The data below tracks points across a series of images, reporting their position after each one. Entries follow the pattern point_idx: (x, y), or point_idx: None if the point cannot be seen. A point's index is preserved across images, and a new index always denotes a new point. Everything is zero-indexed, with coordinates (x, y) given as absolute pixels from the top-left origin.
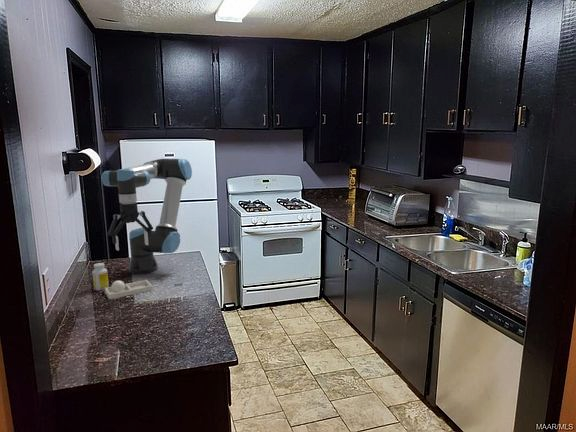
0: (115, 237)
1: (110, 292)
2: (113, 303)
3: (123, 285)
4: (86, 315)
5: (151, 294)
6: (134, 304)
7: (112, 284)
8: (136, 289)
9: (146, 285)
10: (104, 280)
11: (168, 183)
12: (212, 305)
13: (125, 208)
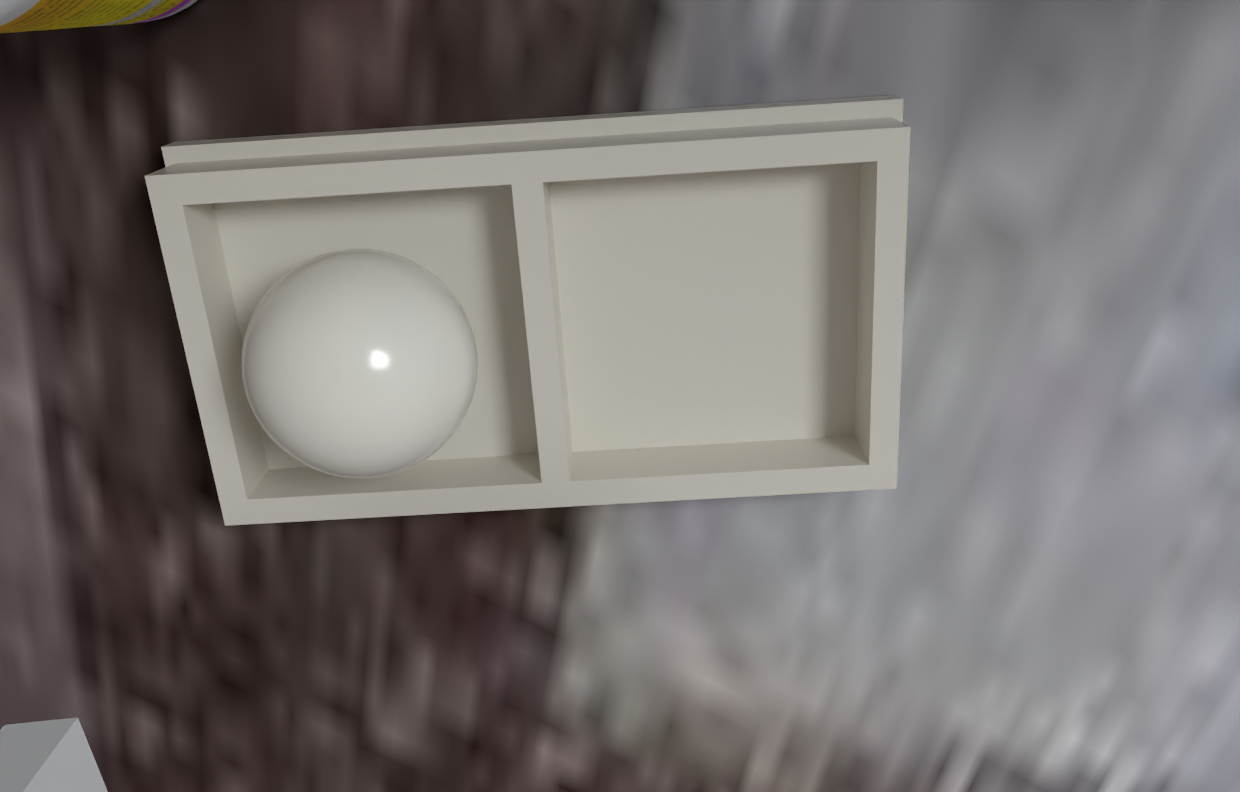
0: None
1: (261, 235)
2: (303, 580)
3: (440, 445)
4: None
5: (820, 528)
6: (545, 728)
7: (250, 400)
8: (634, 501)
9: (855, 210)
10: (95, 16)
11: None
12: None
13: None
